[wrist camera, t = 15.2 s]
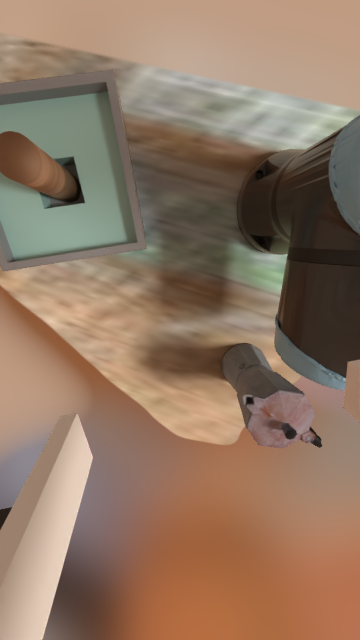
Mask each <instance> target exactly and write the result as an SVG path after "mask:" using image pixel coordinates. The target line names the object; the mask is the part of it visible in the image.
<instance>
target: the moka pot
mask: <svg viewBox="0 0 360 640" xmlns="http://www.w3.org/2000/svg"><path fill="white" fill-rule="evenodd" d="M221 369H222V371H223V374H224V376H225V378H226V379H227V381H228V382H229V383H230V384H231V385H232V387H233V388H234V389H235V390H236V392H237V397H238V401H239V404H240V407H241V411H242V414H243V418H244V422H245V425H246V428H247V429H248V430H249V432H250V433H251V435H252V436H253V438H254V439H255V441H256V442H257V444H258V445H261V446H269V447H276V448H285V447H287V446H288V445H290V444H292V443H294V442H296V441H298V440H302V441H303V442H305V443H312V444H314V445H315V446H317V447H321V446H322V444H321V438H320V437H319V436H317V434H316V433H315V432H314V430H313V429H312V428H311V427H310V425H311V423H312V421H313V418H314V416H315V411H314V410H313V408H312V406H311V405H310V403H309V401H308V399H307V397H306V396H305V394H304V393H303V392H302V391H300V390H299V389H298V388H296V387H295V386H294V385H292V384H291V383H290V382H289V381H287V380H286V379H285V378H283V377H282V376H281V375H280V374H278V373H277V372H273V370H272V368H271V367H270V365H269V363H268V361H267V360H266V358H265V356H264V354H263V353H262V351H261V350H260V349H258V348H257V347H255V346H253V345H251V344H238V345H236V346H234V347H232V348H231V349H229V350H228V351H227V352H226V353H225V355H224V357H223V359H222V363H221Z"/></svg>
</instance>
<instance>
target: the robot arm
mask: <svg viewBox="0 0 360 640" xmlns="http://www.w3.org/2000/svg"><path fill="white" fill-rule="evenodd" d="M237 218H238V223H239V226H240V229H241V231H242V233H243V235H244V237H245V238H246V240H247V241H248V242H249V243H250V244H251V245H252V246H253V247H255V248H256V249H258V250H260V251H262V252H265V253H269V254H277V255H284V254H288V256H287V259H286V266H285V272H284V278H283V284H282V291H281V297H280V303H279V308H278V314H277V315H276V318H275V325H276V331H275V339H274V344H275V349H276V351H277V353H278V354H279V356H280V357H281V359H282V360H283V361H284V362H285V363H286V364H287V365H288V366H289V367H290V368H291V369H293V370H294V371H296V372H297V373H299V374H300V375H302V376H304V377H306V378H307V379H310V380H312V381H314V382H316V383H318V384H321V385H323V386H326V387H329V388H333V389H337V390H344V389H345V396H344V409H345V410H346V411H348V412H349V413H350V414H351V415H352V416H353V417H354V418H355V419H356V420H358V421H359V422H360V116H358V117H356V118H355V119H353V120H352V121H351V122H350V123H349V124H348V125H346V126H344V127H343V128H341V129H339V130H338V131H336V132H334V133H333V134H331V135H329V136H328V137H326V138H324V139H323V140H321V141H319V142H318V143H316V144H314V145H313V146H311V147H310V148H308V149H306V150H303V149H289V150H284V151H280V152H278V153H275V154H273V155H271V156H269V157H268V158H266V159H265V160H264V161H262V162H261V163H259V164H258V165H257V166H256V167H255V168H254V169H253V170H252V171H251V172H250V174H249V175H248V176H247V178H246V179H245V181H244V183H243V185H242V188H241V190H240V193H239V197H238V202H237ZM92 459H93V456H92V454H91V451H90V448H89V445H88V442H87V440H86V437H85V434H84V431H83V429H82V425H81V423H80V420H79V417H78V414H77V413H74V414H70V415H64V416H60V418H59V420H58V422H57V424H56V425H55V427H54V429H53V431H52V433H51V435H50V437H49V439H48V441H47V443H46V444H45V447H44V448H43V450H42V452H41V454H40V456H39V458H38V460H37V462H36V464H35V465H34V467H33V469H32V471H31V473H30V475H29V477H28V479H27V481H26V482H25V484H24V486H23V488H22V490H21V492H20V494H19V496H18V498H17V500H16V501H15V503H14V506H13V507H11V508H6V509H1V510H0V640H42V639H43V635H44V632H45V628H46V625H47V621H48V617H49V614H50V610H51V606H52V603H53V599H54V596H55V592H56V589H57V585H58V581H59V578H60V574H61V571H62V567H63V563H64V560H65V556H66V553H67V549H68V545H69V541H70V538H71V535H72V531H73V527H74V524H75V520H76V516H77V513H78V510H79V506H80V502H81V499H82V495H83V491H84V488H85V484H86V480H87V477H88V474H89V470H90V466H91V463H92Z"/></svg>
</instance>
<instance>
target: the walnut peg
mask: <svg viewBox="0 0 360 640" xmlns="http://www.w3.org/2000/svg"><path fill="white" fill-rule="evenodd" d="M0 172H1V173H2V174H3V175H4V176H6V177H7V178H9V179H11V180H13V181H15V182H18V183H20V184H23V185H25V186H27V187H30V188H32V189H34V190H37V191H39V192H42V193H44V194H46V195H49V196H51V197H54V198H56V199H58V200H61V201H63V202H66V203H72V202H74V201H76V200H77V199H78V198H79V196H80V194H81V186H80V183H79V181H78V179H77V178H76V177H75V176H74V175H73V174H71V173H70V172H69V171H68V170H66V169H65V168H64V167H63V166H61V165H60V164H59V163H58V162H56V161H55V160H54V159H53V158H52V157H50V156H49V155H48V154H47V153H45V152H44V151H43V150H42V149H40V148H39V147H38V146H37V145H35V144H34V143H33V142H32V141H31V140H29V139H28V138H27V137H25V136H24V135H22V134H20V133H18V132H14V131H6V132H3V133H1V134H0Z"/></svg>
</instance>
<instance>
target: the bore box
mask: <svg viewBox="0 0 360 640" xmlns="http://www.w3.org/2000/svg"><path fill="white" fill-rule="evenodd" d="M6 131H14V132H18V133H20V134H22V135H24V136H25V137H27V138H28V139H29V140H31V141H32V142H33V143H34V144H35V145H37V146H38V147H39V148H40V149H42V150H43V151H44V152H45V153H47V154H48V155H49V156H50V157H52V158H53V159H54V160H55V161H56V162H58V163H59V164H60V165H61V166H63V167H64V168H65V169H66V170H68V171H69V172H70V173H71V174H73V175H74V176H75V177H76V178H77V179H78V181H79V183H80V186H81V194H80V196H79V198H78V199H77V200H76V201H74V202H72V203H66V202H63V201H61V200H58V199H56V198H54V197H51V196H49V195H46V194H44V193H42V192H39V191H37V190H34V189H32V188H30V187H27V186H25V185H23V184H20V183H18V182H15V181H13V180H11V179H9V178H7V177H6V176H4V175H3V174H2V173H1V172H0V266H1V268H2V271H9V270H15V269H21V268H28V267H34V266H40V265H47V264H53V263H59V262H66V261H72V260H78V259H84V258H91V257H97V256H103V255H110V254H116V253H122V252H129V251H135V250H141V249H146V248H147V244H146V238H145V233H144V227H143V222H142V216H141V211H140V206H139V200H138V195H137V189H136V184H135V179H134V173H133V168H132V162H131V157H130V152H129V146H128V141H127V135H126V130H125V124H124V119H123V114H122V108H121V103H120V98H119V93H118V89H117V85H116V81H115V77H114V73H113V70H107V71H99V72H90V73H82V74H74V75H66V76H57V77H49V78H41V79H33V80H24V81H16V82H8V83H0V134H1V133H3V132H6Z"/></svg>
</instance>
